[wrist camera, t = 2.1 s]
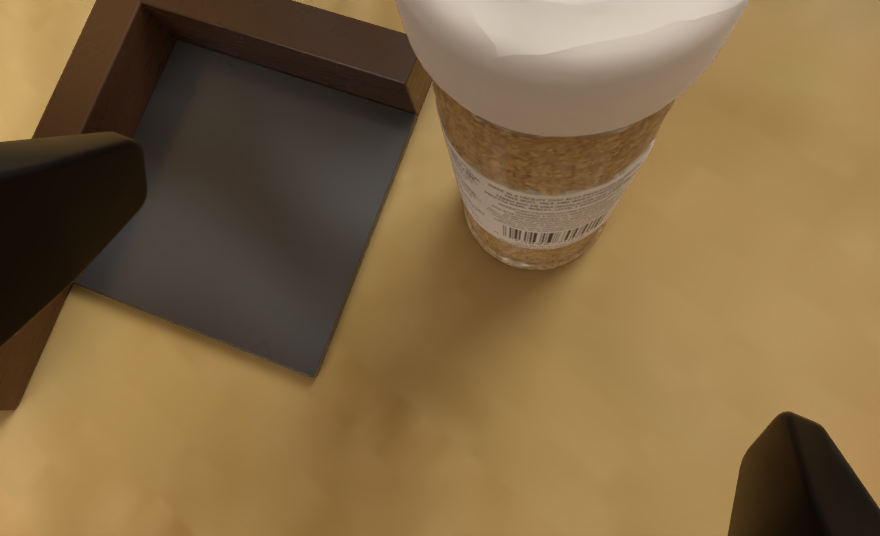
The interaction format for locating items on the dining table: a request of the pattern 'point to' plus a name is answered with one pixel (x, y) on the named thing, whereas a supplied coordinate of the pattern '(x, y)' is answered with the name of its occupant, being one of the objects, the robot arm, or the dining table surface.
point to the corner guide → (236, 166)
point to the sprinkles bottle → (556, 106)
